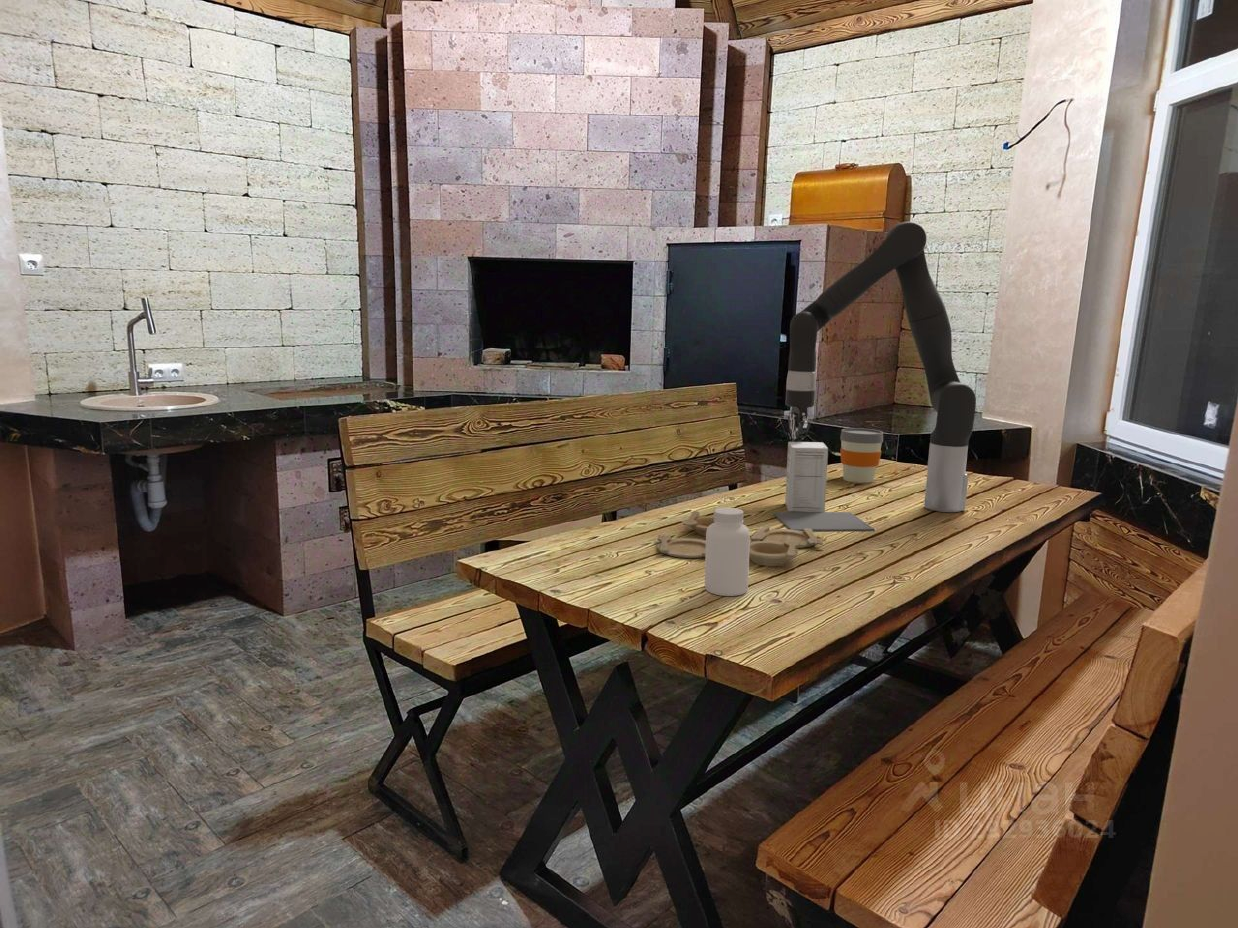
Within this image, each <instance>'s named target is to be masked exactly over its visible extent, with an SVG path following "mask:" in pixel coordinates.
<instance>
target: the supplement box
mask: <svg viewBox="0 0 1238 928" xmlns="http://www.w3.org/2000/svg"><path fill="white" fill-rule="evenodd" d="M786 456H787V458H786V459H787V461H786V462H787V463H786V481H785V500H784V501H785V502H784V504H785V507H786V509H787V512H826V497H827V496H826V493H827V475H828V458H829V447H827V445H826V444H825V443H824V442H819V441H817V442H816V441H811V442H810V441H802V442H793V441H788V443H787V455H786Z"/></svg>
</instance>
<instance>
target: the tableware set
mask: <svg viewBox="0 0 1238 928" xmlns="http://www.w3.org/2000/svg"><path fill="white" fill-rule="evenodd" d="M713 523H715V522H714V515H701V516H700V511H697V510H693V511H692V512H691V514H690V516H689V518H688V519H684V520H682V521H681V524H682V525H683V526H688V527H691V528H693V529H694V530H695V531H696V533H697V534H698V535H700V536H703V537H706V531H707V528H708V527H709V526H710V525H711V524H713ZM657 541H658V544H657V547H656V548H657V550H658V551H659V553H661V554H664V555H667V556H671V557H675V558H682V559H697V558H705V554H706V539H700V538H699V539H698V538H689V537H682V538H681V537H677V538H672V536H671V535H670V534H668V535H667V534H666V535H665V534H663V535H661V534H657ZM815 545H820V546H823V545H824V542H823V541H822V540H821V539H819V538H818V537H817V536H816V535H814V531H812V529H809V528H805V529H804V531H798V530H790V529H789V528H786V529H785V528H779V529H778V528H776V529H770V526H769V525H768V526H767V525H763V526H762V527H761V528H760V529H758V531H756V533H754V534H752V536H750V551H749V558H750V559H751V561H752V562H753V563H754V564H756V565H759V566H763V565H764V566H765V567H781V566H784V565H786V563H787V561H788V560H789V559H794V558H796V556H797V555H798V553H799V549H803V548H809V547H813V546H815ZM783 564H784V565H783Z"/></svg>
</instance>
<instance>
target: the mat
mask: <svg viewBox="0 0 1238 928" xmlns="http://www.w3.org/2000/svg"><path fill="white" fill-rule="evenodd" d="M772 515H774V516H775V517H776V518H777V519H778V520H779V522H780V523H782V524H783V525H784V526H785V527H786V529H789V530H798V531H803V532H804V529H805V528H809V529H812V531H813V532H864V531H865V532H870V531H871V532H872V531H873V532H876V531H875V528H874V527H872V526H871V525H869V524H868V523H866V522H865V521H864V520H862V519H861V518H859V517H858V516H856V515H855V514H853V513H852V512H851V511H827V512H826V511H825V512H792V511H787V512H786V511H784V512H783V511H780V512H779V511H777V512H772Z"/></svg>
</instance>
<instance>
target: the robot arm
mask: <svg viewBox="0 0 1238 928" xmlns="http://www.w3.org/2000/svg"><path fill="white" fill-rule="evenodd" d="M927 238H928V237H927V233H926V231H925V229H924V228H923V226H922V225H920V224H919V223H917V222H914V221H903V222H899V223H898V224H894V226H892V227H891V228H890V229H889V230H888V233H887V235H886V237H885V240H883V242H881V244H880V245H879V246H878V247H877V248H876V249H875V250H874V251H873V252H872V253H870V255H869V256H867V258H865V259H864V260H863V261H861V262H860V263H859V264H858V265H856V266H855V267H854V268H852V269H851V270H849V271H848V272H847V273H845V274H843V275H842V276H841V277H839V278H838V279H837V280H836V281H835V282H833V283H832V284H831V285H830V286H829V287H827V288H826V289H825V290H824V291H823V292H822V293H820V295H819V296H818V297H817V298H816V299H815V300H814V301H813V302H811V303H810V304H809V305H807V306H806V307H805V308H803V310H801V311H800V312H798V313H796V314H795V315H793V317H792V318H791V321H790V326H789V347H790V349H789V356H788V369H787V370H788V372H787V377H786V387H785V388H786V390H785V406H787V407H790V408H791V411H790V412H789V413H790V414H789V415H787V421H788V427H789V435H790V436H791V438H792V442H804V441H803V440H804V439H806V438H807V436H808V435H807V434H808V432H809V430H810V426H811V423H812V422H811V421H810V420H809V413H808V408H814V406H815V400H816V399H815V398H816V383H817V382H816V381H817V379H816V378H817V377H816V370H817V369H816V368H817V352H816V348H817V338H818V332H820V330H821V329H822V328H824V327H825V326H826V325H827V324H828V323H829V322H830V321H831V320H832V319H833V318H835V317H837V316H839V315H840V314H842V312H843V311H845V310H846V309H847V308H849V307H850V306H851V305H853V303H855V302H856V301H857V300H858V299H859V298H861V296H863V295H864V294H865V293H866V292H867V291H868V290H869V289H870V288H872V287H873V286H874V285H875V284H876V283H877V282H878V281H880V280H881V279H882V278H884V277H885V276H886V275H888V274H889V273H891V272H893V270H894V271H895V272H896V275H897V277H898V281H899V285H900V288H901V293H902V300H903V304H904V310H905V312H906V317H907V321H908V324H909V329H910V331H911V335H912V337H913V338H912V339H913V340H914V343H915V346H916V349H917V350H916V351H917V352H918V356H919V358H920V361H921V363H922V366H923V369H924V372H925V373H924V374H925V378H926V384H927V389H928V395H929V400H930V405H931V406H932V408H933V410H934V411H935V412H936V413H937V414H936V422H935V428H934V430H933V431H932V432H931V433H930V437H929V438H930V440H929V441H930V442H929V447H928V448H929V449H928V460H927V472H926V482H925V494H924V503H923V506H924V508H926V509H927V510H930V511H934V512H935V511H936V512H943V513H956V512H957V513H959V512H961V511H966V506H967V505H966V502H967V494H968V484H969V475H968V474H967V473H966V469H967V460H968V449H969V440H970V438H971V436H972V434H973V429H974V423H975V422H974V421H975V417H976V409H977V408H976V407H977V398H976V393H975V391H974V390H973V388H972V387H970V386H969V385H967V384H965V383H962V382H961V381H960V378H959V376H958V374H957V371H956V368H955V364H954V361H953V355H952V354H953V353H952V348H953V347H952V345H953V344H952V343H953V341H952V340H953V339H952V336H953V335H952V329H951V323H950V319H949V316H948V312H947V310H946V306H945V304H944V301H943V298H942V296H941V294H940V292H939V289H938V288H937V286H936V284H935V282H934V280H933V278H932V275H931V273H930V271H929V267H928V264H927V258H926V255H925V248H926V245H927Z"/></svg>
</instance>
